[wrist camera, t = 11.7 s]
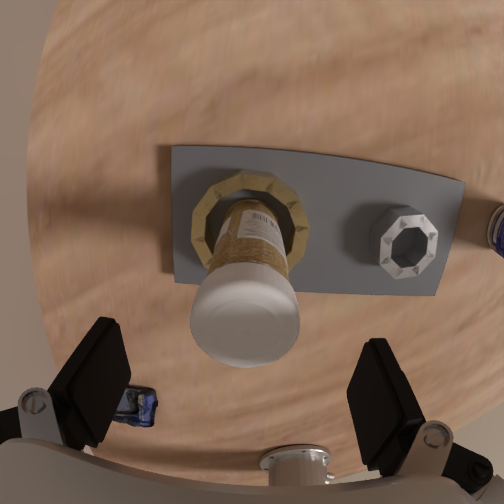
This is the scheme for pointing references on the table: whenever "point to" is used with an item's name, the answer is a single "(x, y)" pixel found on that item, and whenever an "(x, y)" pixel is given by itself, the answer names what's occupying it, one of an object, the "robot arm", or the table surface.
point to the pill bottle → (497, 231)
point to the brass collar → (252, 181)
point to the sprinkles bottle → (247, 291)
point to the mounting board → (319, 214)
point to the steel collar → (418, 251)
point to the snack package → (137, 407)
